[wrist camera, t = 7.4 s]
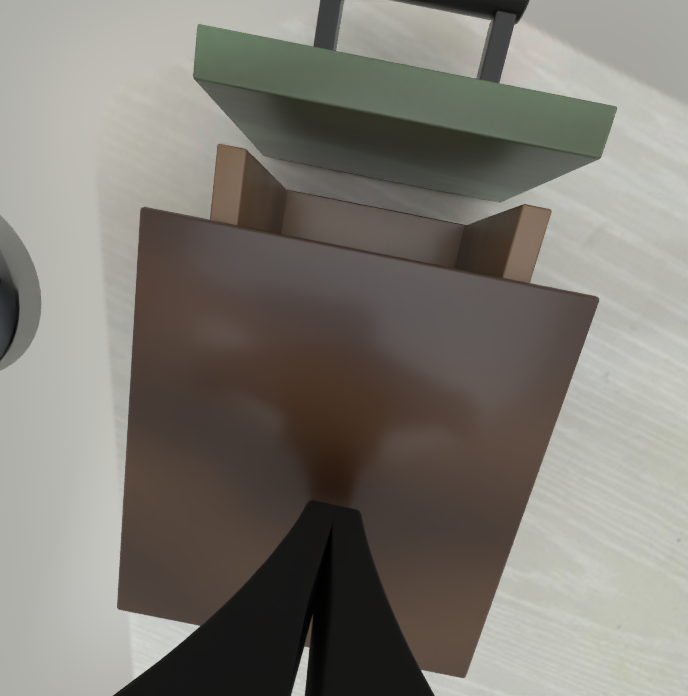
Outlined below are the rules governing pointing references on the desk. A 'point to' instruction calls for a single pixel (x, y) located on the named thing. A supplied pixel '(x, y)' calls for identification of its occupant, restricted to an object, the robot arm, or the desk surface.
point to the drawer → (394, 140)
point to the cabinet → (334, 419)
